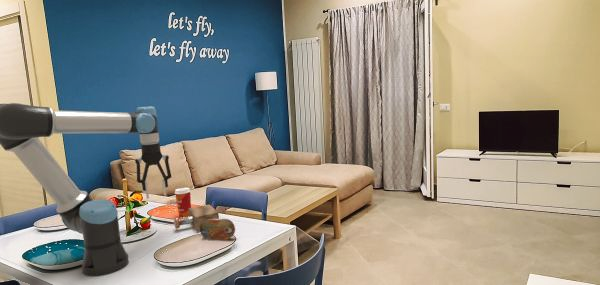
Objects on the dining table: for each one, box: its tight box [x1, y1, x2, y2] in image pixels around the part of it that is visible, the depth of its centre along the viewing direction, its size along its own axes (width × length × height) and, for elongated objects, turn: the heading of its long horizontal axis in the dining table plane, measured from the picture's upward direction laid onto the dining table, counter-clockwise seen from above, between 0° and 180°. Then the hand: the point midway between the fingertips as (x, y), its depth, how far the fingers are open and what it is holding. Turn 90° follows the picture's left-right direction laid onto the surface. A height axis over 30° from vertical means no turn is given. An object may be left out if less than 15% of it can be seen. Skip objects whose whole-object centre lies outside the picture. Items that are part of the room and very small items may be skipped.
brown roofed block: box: [173, 215, 194, 230], centre depth 183 cm, size 14×5×5 cm, turn 116°
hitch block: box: [188, 204, 220, 233], centre depth 186 cm, size 10×16×7 cm, turn 26°
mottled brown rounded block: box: [199, 218, 236, 241], centre depth 167 cm, size 15×3×8 cm, turn 73°
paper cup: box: [174, 187, 192, 218], centre depth 200 cm, size 8×8×14 cm
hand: (156, 196), depth 176 cm, fingers open, 6 cm apart
